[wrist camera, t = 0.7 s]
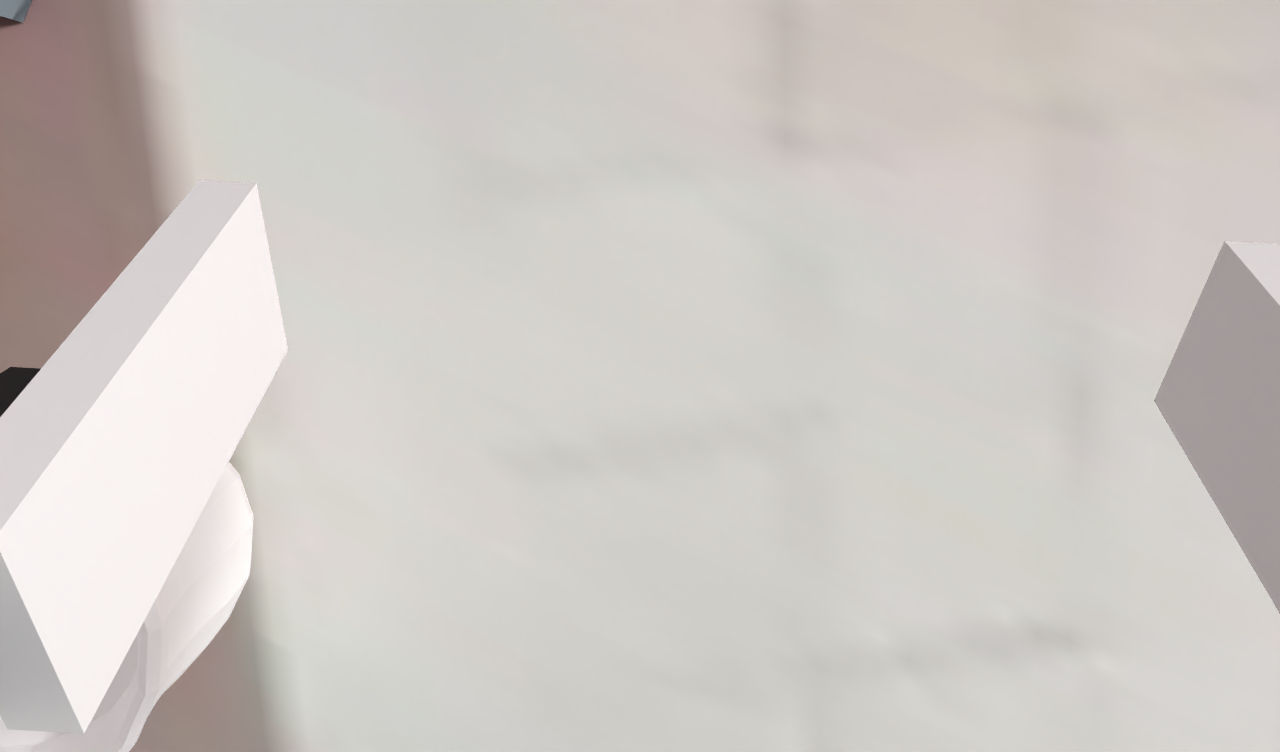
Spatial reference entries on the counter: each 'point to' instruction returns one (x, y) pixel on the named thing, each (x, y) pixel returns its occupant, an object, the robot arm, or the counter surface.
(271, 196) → the counter surface
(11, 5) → the tray
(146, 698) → the cup
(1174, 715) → the counter surface
